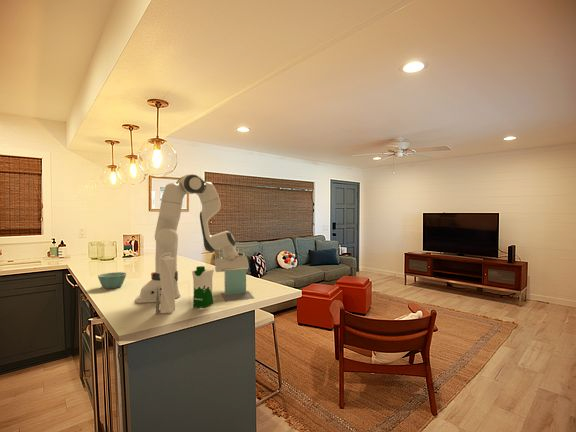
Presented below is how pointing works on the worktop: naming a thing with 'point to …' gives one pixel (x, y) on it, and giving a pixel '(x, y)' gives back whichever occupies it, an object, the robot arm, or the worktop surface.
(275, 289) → the worktop surface
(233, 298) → the mat
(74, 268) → the worktop surface
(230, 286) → the tile
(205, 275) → the milk carton
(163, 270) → the skyscraper
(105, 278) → the bowl
